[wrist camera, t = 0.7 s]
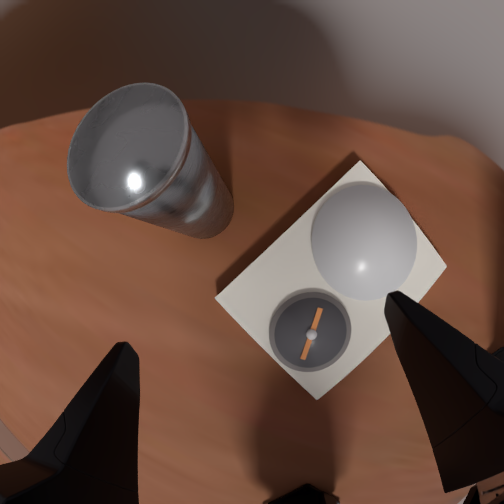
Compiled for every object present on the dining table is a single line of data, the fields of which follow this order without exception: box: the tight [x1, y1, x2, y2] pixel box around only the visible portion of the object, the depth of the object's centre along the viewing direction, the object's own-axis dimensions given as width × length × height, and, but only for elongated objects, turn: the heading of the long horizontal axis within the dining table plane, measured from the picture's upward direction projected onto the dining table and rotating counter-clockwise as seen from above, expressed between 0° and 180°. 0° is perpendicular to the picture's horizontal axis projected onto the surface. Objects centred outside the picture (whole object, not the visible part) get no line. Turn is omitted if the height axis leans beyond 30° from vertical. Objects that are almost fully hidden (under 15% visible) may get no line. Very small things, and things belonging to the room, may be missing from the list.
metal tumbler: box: [67, 83, 234, 239], centre depth 16 cm, size 5×5×14 cm
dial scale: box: [215, 161, 447, 400], centre depth 21 cm, size 16×12×2 cm
